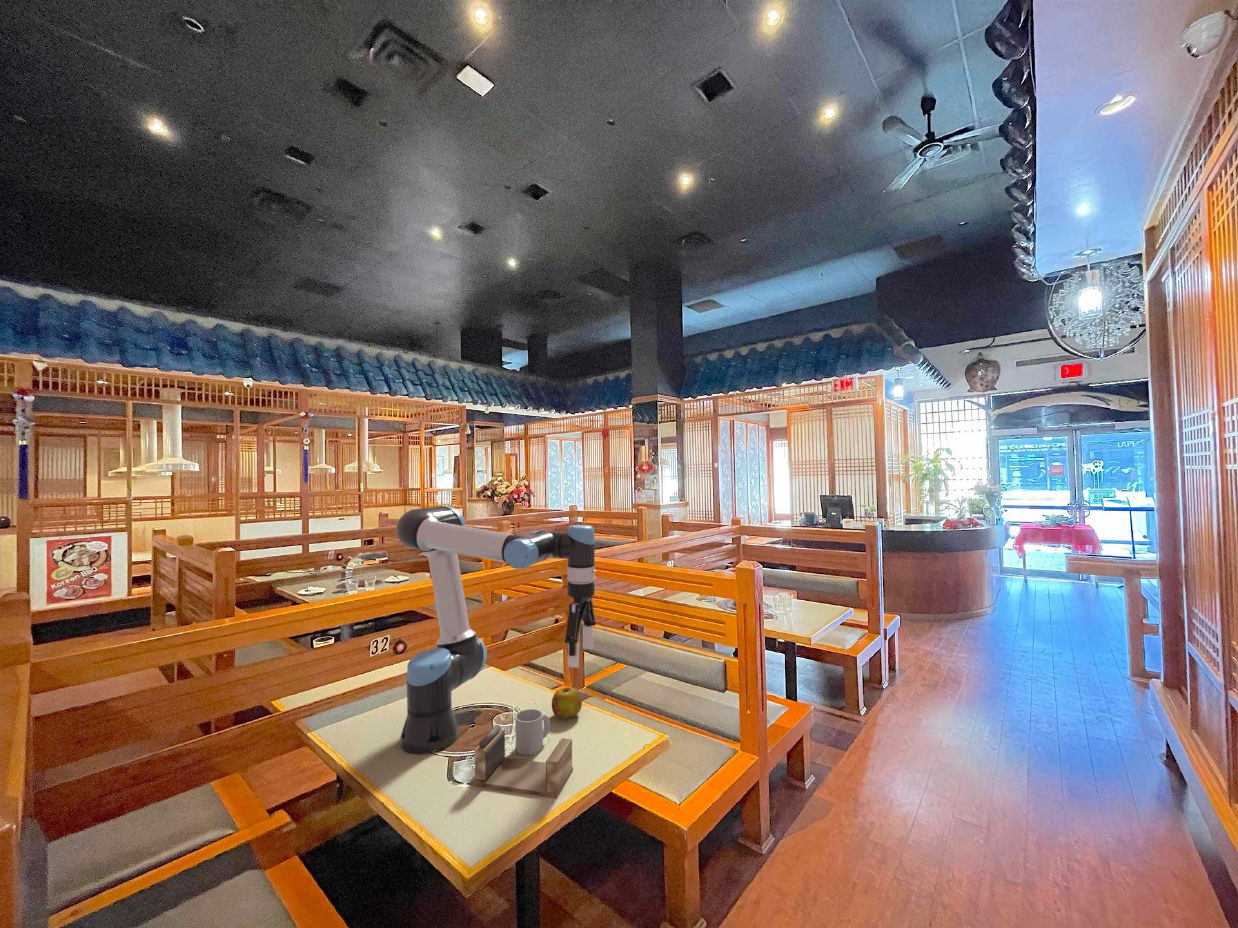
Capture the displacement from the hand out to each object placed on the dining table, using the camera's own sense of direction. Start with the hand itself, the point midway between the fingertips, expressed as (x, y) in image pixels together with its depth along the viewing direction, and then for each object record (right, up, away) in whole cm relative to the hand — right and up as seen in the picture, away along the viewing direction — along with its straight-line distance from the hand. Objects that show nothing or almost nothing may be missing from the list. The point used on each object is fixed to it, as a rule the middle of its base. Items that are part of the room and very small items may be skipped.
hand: (580, 657), depth 140 cm
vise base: (-13, -23, -18) cm, 31 cm away
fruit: (-5, -23, +13) cm, 27 cm away
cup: (-12, -23, -4) cm, 26 cm away
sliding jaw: (-21, -21, -16) cm, 34 cm away
